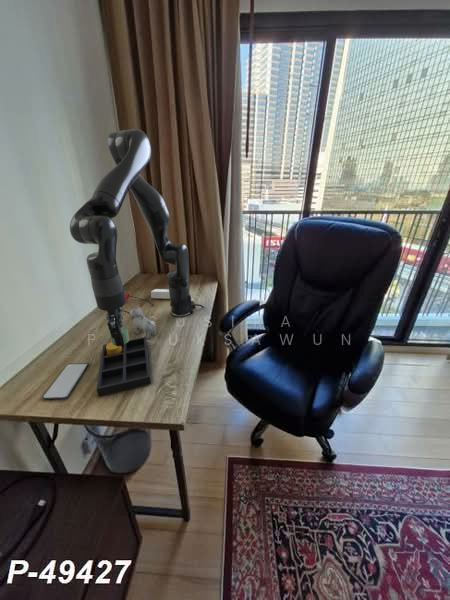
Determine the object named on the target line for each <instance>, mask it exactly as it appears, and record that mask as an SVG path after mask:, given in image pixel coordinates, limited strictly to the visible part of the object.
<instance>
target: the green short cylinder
mask: <svg viewBox="0 0 450 600" xmlns="http://www.w3.org/2000/svg"><path fill="white" fill-rule="evenodd" d="M121 330H122V333H123V334H122V336H123V340H124V344H126V343H127V342H128V341H129V340H130V334H129V330H128V327H127V326H125V325H123V326H122V327H121ZM108 332H109V336H110V340H111V342H112V344H113V345H115V346H116V343H115V339H114V338H112V337H111V333H110V331H108Z"/></svg>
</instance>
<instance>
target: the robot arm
mask: <svg viewBox="0 0 450 600" xmlns="http://www.w3.org/2000/svg"><path fill="white" fill-rule="evenodd" d="M107 147H108V151H109V153H110V156H111V158H112V160H113V162H114V164H115V166H114V167H113V168H112V169H110V170H109V171H108V172H107V173H106V174H104V176H103V177H102V178H101V179H100V180H99V182H98V183H97V185H96V187H95V189H94V191H93V193H92V195H91V197H90V199H88V200H87V201H86V202H84V203H83V205H82V206H81V207H80V208H78V210H77V211H76V212H75V213H74V214H73V216H72V217H71V220H70V222H69V233H70V236H71V237H72V239H73V240H74V241H75V242H77V243H79V244H83V245H97V246H98V250H97V251H94V252H92V253H90V254H88V255H87V256H86V258H85V259H86V265H87V269H88V272H89V277H90V283H91V288H92V291H93V295H94V299H95V302H96V306H97V308H98V309H99V310H101V311H105V312H106V314H105V318H106V320H107V323H106V325H107V327H108V330H109V332H110V333H111V336H110V338H111V337H112V338H114V339H115V343H116V346H123V345H124V340H123V336H122V334H123V333H122V330H121V327H122V326H124V321H123V320H124V316H123V315H124V314H123V311H122V310H123V308H122V307H123V306H125V304H126V303H127V302H126V299H125V295H126V294H125V291H124V286H123V282H122V277H121V275H120V273H119V267H118V263H117V244H118V228H117V225H116V223H115V222H114V220H113V219H115V218H116V217H117V216H118V214H119V213H120V210H121V208H122V206H123V203H124V201H125V199H126V196H127V195H128V193H129V191H131V193H132V195H133V197H134V199H135V201H136V204H137V206H138V208H139V211H140V213H141V214H142V217H143V219H144V221H145V222H146V225H147V227H148V228H149V231H150V233H151V235H152V238H153V240H154V243H155V247H156V248H157V251H158V254H159V257H160V259H161V261H162V262H163V263H164V264H166V265H171V266H175V267H176V268H175V269H173V270H171V271H169V272H168V273H167V275H166V278H167V285H168V290H169V294H170V299H169V302H170V303H169V306H170V312H171V315H172V316H174V317H177V318H183V317H187V316H188V315H190V314H191V315H192V314H193V310H196V307H201V308H202V309H204V308H205V306H203V304H199V303H195V301H194V300H192V295H191V293H190V281H189V279H190V278H189V272H190V263H189V262H190V261H189V259H190V258H189V249H188V247H187V245H186V244H184V243H177V242H171V241H170V239H169V237H168V233H167V230H168V227H169V224H170V218H171V217H170V212H169V209H168V206H167V204H166V202H165V199H164V197H163V196H162V195H161V194H160V192H159V191H158V190H156V189H155V188H154V187H153V186H152V185H151V184H150V183H149V182H148V181H147V180H145V178H144V176H142V175H141V173H142V172H143V170H144V169H145V167H147V164H149V162H150V159H151V157H152V146H151V142H150V139H149V138H148V135H147V134H146V133H145V131H143V130H142V129H138V128H131V129H123V130H116V131H111V132H110V133H108V136H107ZM110 333H109V334H110Z"/></svg>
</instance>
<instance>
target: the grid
mask: <svg viewBox="0 0 450 600" xmlns="http://www.w3.org/2000/svg"><path fill="white" fill-rule="evenodd" d="M107 344H108V343H106V344H102V349H101V356H100V364H99V370H98V377H97V384H96V392H97V395H98V397H103V396H107V395H110V394H114V393H118V392H122V391H123V392H124V391H128V390H131V389H134V388H135V389H136V388H139V387H144V386H147V385H152V379H151V368H150V361H149V349H148V341H147V339H146V337H145V336H142V337H137V338H132V339H129V341H128V342H127V343H126V344H124V345H123V346H121V347H122V351H123V353H119V354H114V355H109V356H108V353H107V350H106V345H107Z"/></svg>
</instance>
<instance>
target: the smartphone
mask: <svg viewBox="0 0 450 600" xmlns="http://www.w3.org/2000/svg"><path fill="white" fill-rule="evenodd" d="M88 366H89V364H88V363H87V362H85V363H81V362H80V363H67V364H66V366H65V367H64V368H63V370H62V372H61V373H60V374H59V375H58V377H56V379H55V380H54V382H53V383H52V384H51V386H50V387H49V388H48V390H47V391H46V392H45V393H44V395H43V396H42V398H43V400H52V399H53V400H54V399H55V400H56V399H66V398H68V396H69V395H70V393H71V392H72V390H73V388H74V387H75V386H76V384H77V382H78V381H79V379H80V378H81V377H82V375H83V373H84V372H85V370H86V368H87V367H88Z"/></svg>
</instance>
